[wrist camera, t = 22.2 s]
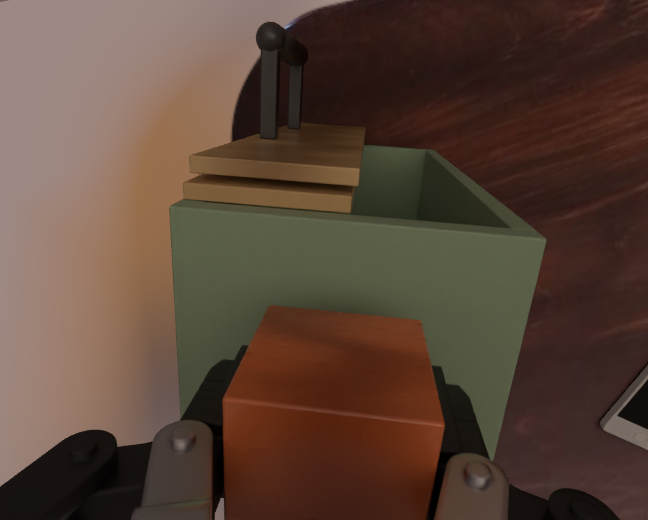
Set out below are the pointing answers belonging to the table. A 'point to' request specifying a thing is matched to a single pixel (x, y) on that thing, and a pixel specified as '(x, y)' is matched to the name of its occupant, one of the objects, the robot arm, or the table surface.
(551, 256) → the table surface
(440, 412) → the block
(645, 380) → the smartphone
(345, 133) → the door
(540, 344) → the table surface
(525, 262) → the box
